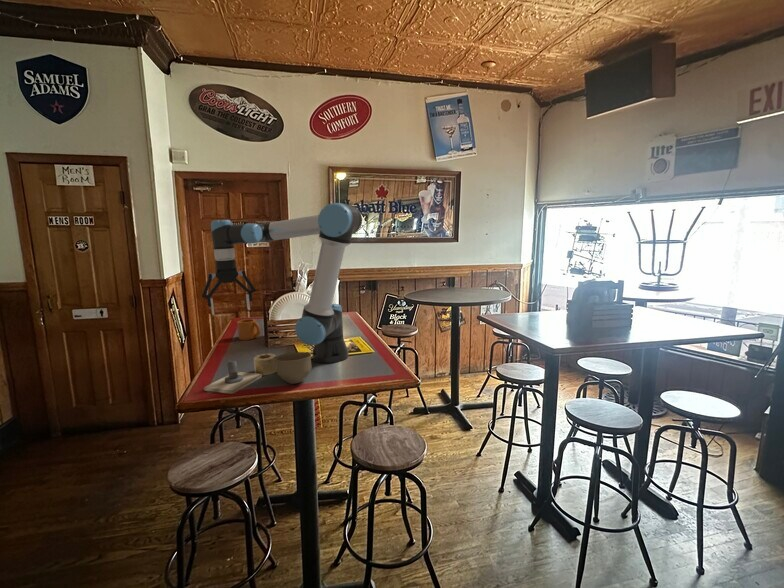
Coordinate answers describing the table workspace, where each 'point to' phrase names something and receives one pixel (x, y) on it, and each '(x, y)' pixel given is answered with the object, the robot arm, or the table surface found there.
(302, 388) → the table surface
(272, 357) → the collar
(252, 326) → the mug
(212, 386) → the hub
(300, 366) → the bowl
